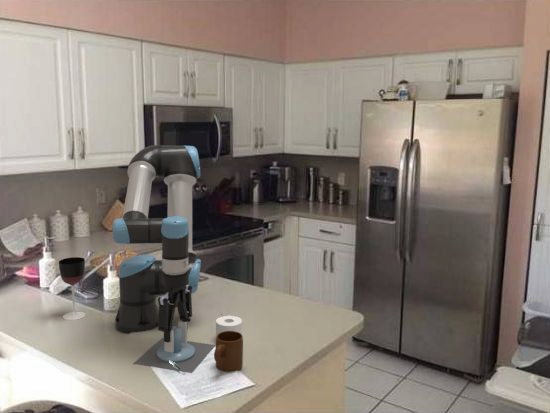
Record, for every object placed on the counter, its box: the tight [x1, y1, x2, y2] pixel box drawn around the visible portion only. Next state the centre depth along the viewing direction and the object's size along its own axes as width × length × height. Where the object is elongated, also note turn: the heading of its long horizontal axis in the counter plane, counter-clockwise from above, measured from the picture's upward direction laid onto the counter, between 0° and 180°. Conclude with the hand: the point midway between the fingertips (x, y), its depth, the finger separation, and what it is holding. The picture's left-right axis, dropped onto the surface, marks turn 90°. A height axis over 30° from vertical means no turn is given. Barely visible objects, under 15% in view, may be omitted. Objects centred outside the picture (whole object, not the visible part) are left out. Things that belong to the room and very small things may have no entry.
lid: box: [157, 325, 195, 363], centre depth 147 cm, size 11×11×8 cm
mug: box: [213, 331, 244, 373], centre depth 139 cm, size 12×8×9 cm, turn 159°
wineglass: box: [58, 256, 87, 321], centre depth 174 cm, size 8×9×20 cm
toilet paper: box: [215, 313, 243, 338], centre depth 159 cm, size 8×11×7 cm
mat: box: [132, 336, 216, 374], centre depth 148 cm, size 18×18×1 cm
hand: (176, 346), depth 147 cm, fingers open, 6 cm apart
